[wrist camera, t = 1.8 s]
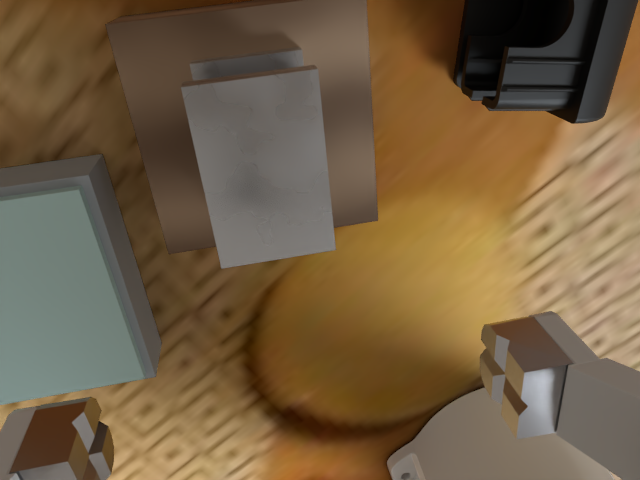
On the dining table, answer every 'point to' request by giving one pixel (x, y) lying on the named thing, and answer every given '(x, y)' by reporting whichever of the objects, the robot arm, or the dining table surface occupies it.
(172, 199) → the stand
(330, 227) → the block
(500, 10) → the end cap
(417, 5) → the dining table surface
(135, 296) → the stand
